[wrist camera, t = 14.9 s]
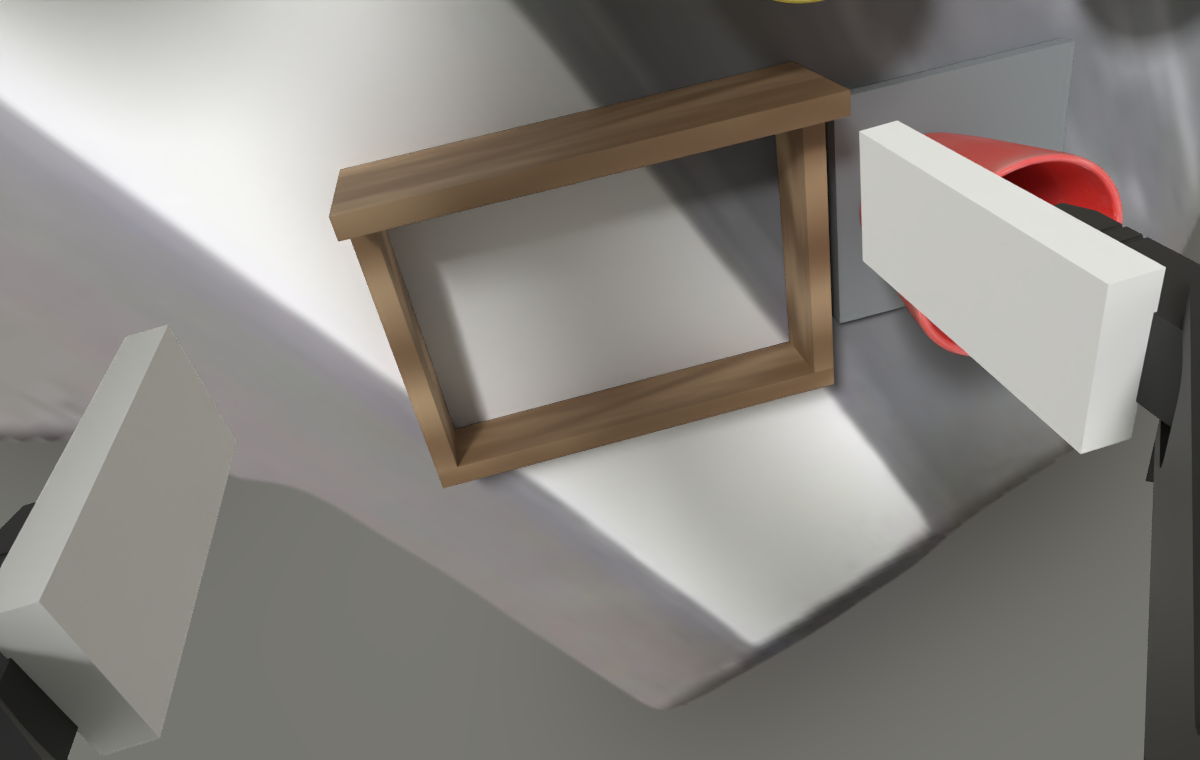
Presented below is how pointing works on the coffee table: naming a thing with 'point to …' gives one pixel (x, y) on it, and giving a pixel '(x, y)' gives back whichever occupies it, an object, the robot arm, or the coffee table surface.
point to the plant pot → (798, 1)
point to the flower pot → (1028, 188)
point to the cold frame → (585, 152)
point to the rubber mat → (928, 105)
